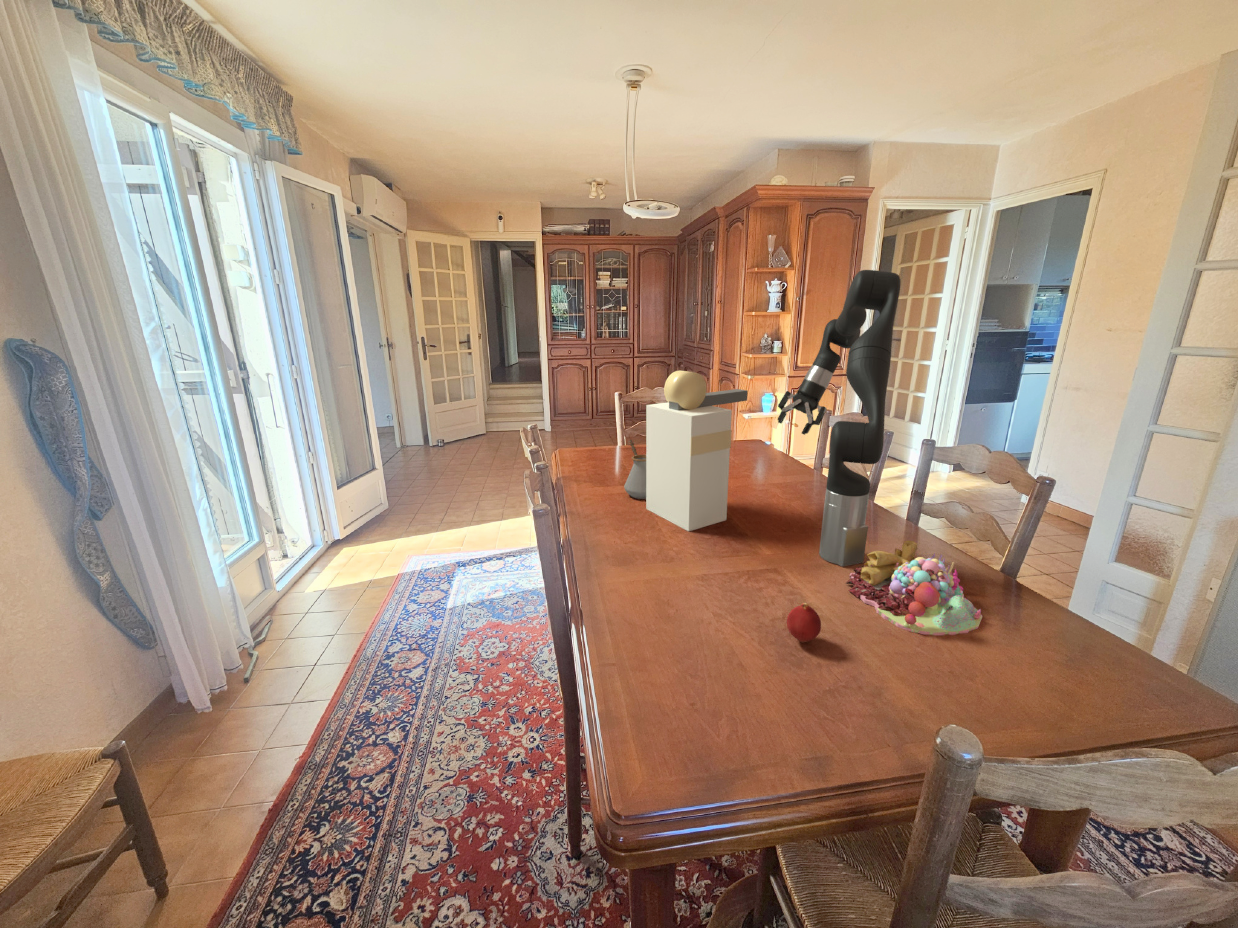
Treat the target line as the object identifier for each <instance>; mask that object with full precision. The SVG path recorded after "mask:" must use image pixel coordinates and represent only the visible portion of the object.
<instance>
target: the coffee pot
mask: <svg viewBox="0 0 1238 928" xmlns="http://www.w3.org/2000/svg"><path fill="white" fill-rule="evenodd" d="M634 442H635V441H634V440H632V439H630V440H629V441H628V443H627V445H630V447H631V450H632V452H633V456H631V460H632V461H633V464H632V467H631V469H630V471H629V475H628V476H627V479H626V480H625V483H624V486H623V487H624V490H625V492H626V493H627V494H628V495H629V496H630V497H631V498H633V499H639V500H646V454H638V453H637V448H636V447H635V443H634ZM629 443H630V444H629Z"/></svg>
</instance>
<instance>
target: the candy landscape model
mask: <svg viewBox="0 0 1238 928" xmlns="http://www.w3.org/2000/svg"><path fill="white" fill-rule="evenodd" d="M917 550H918V543H917V542H915V541H914V540H905V541H904V542H903V544H902V546H901V549H900V548H895V549H894V553H893V552H887V551H883V550H874V551H871V552H869V553H867V554H866V556H867V558H868V559H869V560H866V562H865V563H863V565H862V566H859V567H856V568H854V569H853V572H850V573H849V579H848V580H847V581H846V582H845V584H846V585H852V587H851V588H849V589H848V591H849V593H851V594H852V595H853V596H855V597H856V598H860V600H861V601H862V602H863V603H864V604H866V605H869V606H872V607H874V610H876V614H878V615H880V616H881V618H882V619H884V620H885V621H889V622H890V623H891V624H893V625H895V627H897V628H900V629H903V630H905V631H908V632H911V633H916V634H918V633H919V634H921V635H930V636H945V635H949V636H950V635H951V636H952V635H953V636H954V635H955V636H956V635H958V634H968V633H969V632H971V631H973V630H977V629H978V628H979V627H980V624H981V622H982V619H983V614H981V612H982V610H981V608H980V609H978V608H976V607H975V606H974V604H973V603H972V602H971V601H970V600H969V599H968V598H966V597H965V594H964V588H963V586H962V585H960V584H959V583H960V582H961V579H960V578H958V571H957V569H956V568H955V569H954V566H955V562H954V561H952V563H951V565H950V564H948V566H947V567H946V566H945V565H946V564H945V563H946V562H945V561H946V558H945V557H944V558H943V554H940V555H939V557H938V558H935V557H936V552H933V554H932V555H931V557H928V558H926V557H923V556H918V557H916V552H917ZM915 557H916V558H915ZM942 558H943V559H942ZM953 569H954V572H952V571H953Z"/></svg>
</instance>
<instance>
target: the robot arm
mask: <svg viewBox="0 0 1238 928" xmlns="http://www.w3.org/2000/svg"><path fill="white" fill-rule="evenodd" d="M901 283H902V282H901V277H900V275H899V274H898V273H895V272H890V271H883V270H875V269H862V270H860V271H858V272H857V273H856V274H855V276H854V278H853V279H852V281H851V283H850V286H849V289H848V292H847V294H846V298H845V301H844V304H843V307H842V310H841V313H840V314H839V315H838V317H837V318H834V319H831V320H829V322H827V324H826V325H825V327H824V330H823V334H822V340H821V343H820V347H819V350H818V352H817V355H816V357H815V359H814V361H813V362H812V365H811V366H810V368H809V369H808V370H807V372H806V374H805V376H804V378H803V379H802V382H801V384H800V386H799V387H798V389H797V391H796V393H795V394H794V393H792V392H791V391H789V390H787V391H786V392H785V393H784V395H782V398H781V399H780V401H779V403H778V404H777V407H778V409H780V411H781V412H780V413H779V415H778V418H777V423H778V424H782V423H784V420H785V418H786V416H787V413H789V412H790V411H793V410H796V411H798V412H801V413H803V414H805V415H806V417H807V422H806V424H805V425H804V427H803V429H802V431H801V434H802V435H805V436H806V434H808V433H809V432H810V431H811V428H812V427H813V426H820V425H821V423H822V421H823V418H824V416H825V414H826V412H827V410H828V409H827V407H826V406H821V405H820V404H819V403H820V402H821V400H822V397H823V395H824V393H825V392H826V390H827V388H828V387H829V385H830V382H831V380H832V378H833V376H834V373H835V371H836V370H837V367H838V366H839V364H840V362H841V359H842V358H841V356H840V355H839V354H838V353H837V352H836V351H834V350H832V348H831V343H832V344H833V345H835V346H838V347H840V348H842V349H849V350H848V356H847V364H846V369H845V370H846V371H845V375H846V379H847V381H848V383H849V385H850V387H851V388H852V390H853V391H854V392H855V394H856V395H857V397H858V398H859V400H860V402H861V403H862V405H863V407H864V409H865V412H866V415H867V416H866V417H867V419H868V422H863V421H862V422H860V421H849V420H847V421H845V420H839V421H836V422H835V423H834V424H833V426H832V427H831V432H830V437H829V438H830V439H829V454H828V455H829V456H828V458H829V459H828V470H827V471H828V472H827V478H826V484H825V485H826V487H825V495H824V496H825V498H824V505H823V512H822V513H823V514H822V522H821V532H820V542H819V551H818V552H819V553H818V554H819V556H820V558H821V559H822V560H824V561H826V562H829V563H831V564H836V565H839V566H841V567H843V568H844V567H847V566H854V565H859V564H864V561H865V560H864V559H865V553H866V551H865V550H866V546H867V539H868V532H869V526H868V524H866V518H867V511H868V503H869V497H870V489H871V482H870V479H869V478H867V477H866V476H864V475H862V474H860V473H858V472H855V471H854V470H852V469H850V468H849V467H848V466H846V465H845V463H854V464H862V465H865V464H866V465H876V464H877V463H879V461H880V460H881V457H882V455H883V451H884V450H883V449H884V442H885V441H884V439H885V414H886V398H887V397H886V396H887V389H888V381H889V377H890V375H889V374H890V368H891V359H892V348H893V347H892V344H893V335H894V334H893V332H894V325H895V318H896V313H897V307H898V303H899V298H900V293H901ZM867 310H871V311H872V310H873V311H878V312H879V314H878V316H877V318H876V319H875V320H874V322H873V323H872V324H871V325H870V326H869V327H868V328H867V330H865V331H863V333H862V334H861V328H862V327H863V326H864V324H865V323H866V320H867ZM791 399H792V401H793V402H791V403H789V404H788V405H786V404H787V403H788V401H789V400H791ZM816 410H817V412H818V413H817V416H816V418H815V420H814V411H816Z"/></svg>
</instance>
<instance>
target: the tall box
mask: <svg viewBox="0 0 1238 928" xmlns="http://www.w3.org/2000/svg"><path fill="white" fill-rule="evenodd" d="M645 406H646V407H645V408H646V411H645V412H646V413H645V414H646V416H645V419H646V424H645V425H646V426H645V427H646V428H645V431H646V433H645V434H646V435H645V437H646V438H645V439H646V443H645V445H646V452H645V453H646V454H645V455H646V499H645V500H646V501H645V504H646V506H645V507H646V508H645V509H646V510H647V511H649V512H652V513H653V514H655V515H657V516H658V517H660V518H663V519H665V520H667V521H668V522H670V523H672V524H674V525H675V526H677V527H679V528H681V529H683V530H685V531H687V532H692V531H694V530H698V529H702V528H704V527H707V526H710V525H715V524H717V523H721V522H724V521H727V513H728V492H729V491H728V490H729V477H730V475H729V473H730V457H731V456H730V452H731V448H732V414H733V412H732V411H733V410H732V409H729V408H723V407H718V406H716V405H714V406H707V407H700V408H695V409H692V410H689V409H686V410H679V411H678V410H673V409H669V403H668V402H667V401H666V402H660V403H653V404H646V405H645Z"/></svg>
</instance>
